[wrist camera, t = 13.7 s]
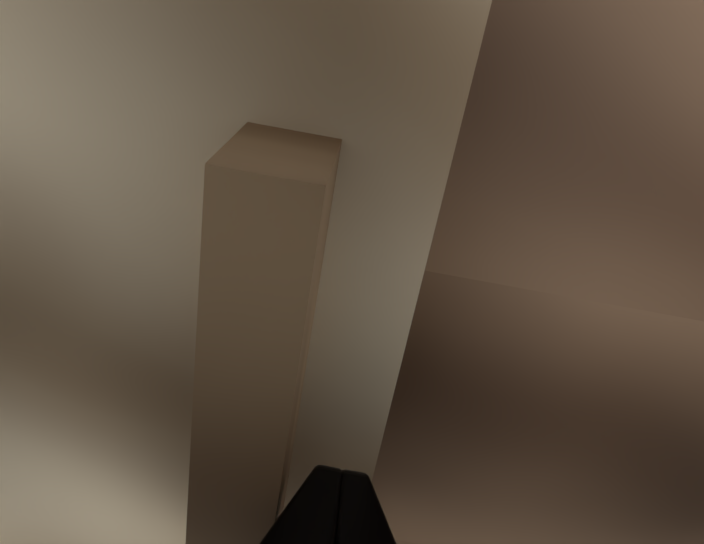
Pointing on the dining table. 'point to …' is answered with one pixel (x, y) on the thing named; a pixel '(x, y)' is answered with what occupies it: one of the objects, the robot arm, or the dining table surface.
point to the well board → (562, 292)
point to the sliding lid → (211, 250)
